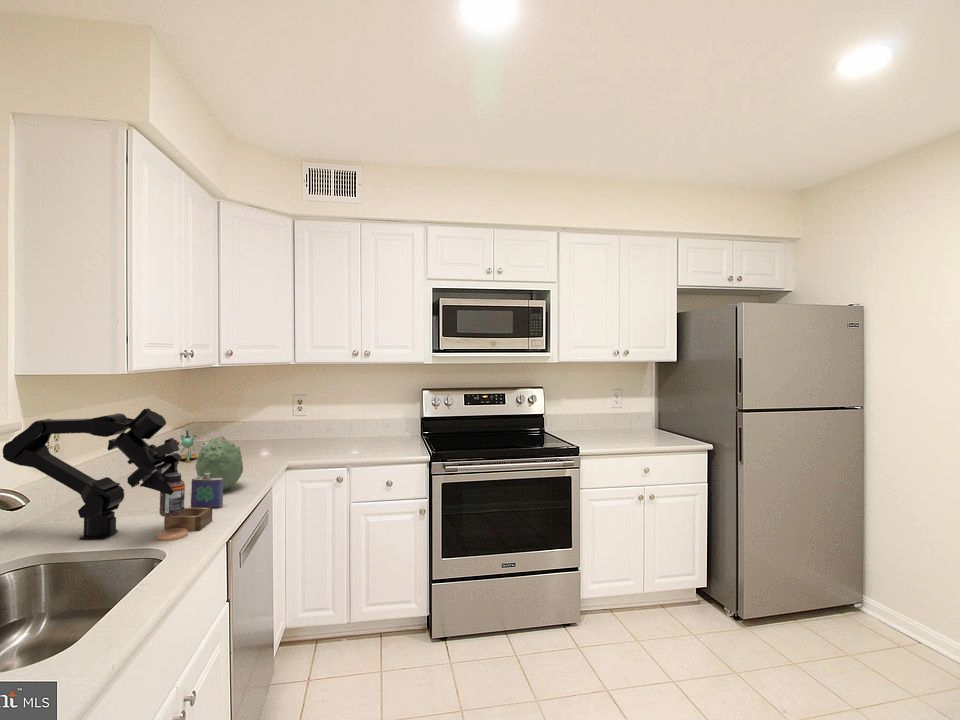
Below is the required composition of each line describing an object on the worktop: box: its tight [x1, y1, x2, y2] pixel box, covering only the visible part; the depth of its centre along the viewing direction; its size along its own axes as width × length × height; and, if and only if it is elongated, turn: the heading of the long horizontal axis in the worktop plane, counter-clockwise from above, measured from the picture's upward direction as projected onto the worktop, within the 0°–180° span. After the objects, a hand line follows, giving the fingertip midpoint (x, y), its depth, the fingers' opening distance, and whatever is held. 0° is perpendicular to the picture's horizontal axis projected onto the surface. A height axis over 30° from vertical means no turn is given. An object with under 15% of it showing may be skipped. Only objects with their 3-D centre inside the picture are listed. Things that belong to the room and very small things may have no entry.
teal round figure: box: [179, 429, 199, 464], centre depth 244 cm, size 10×18×15 cm, turn 17°
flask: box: [190, 473, 224, 510], centre depth 173 cm, size 10×3×12 cm, turn 95°
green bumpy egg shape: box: [195, 435, 244, 491], centre depth 193 cm, size 16×19×20 cm
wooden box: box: [163, 507, 213, 532], centre depth 155 cm, size 10×9×4 cm
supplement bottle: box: [159, 472, 186, 517], centre depth 147 cm, size 6×6×11 cm
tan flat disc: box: [155, 528, 189, 542], centre depth 147 cm, size 8×8×1 cm
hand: (177, 490), depth 147 cm, fingers closed on supplement bottle, 6 cm apart
